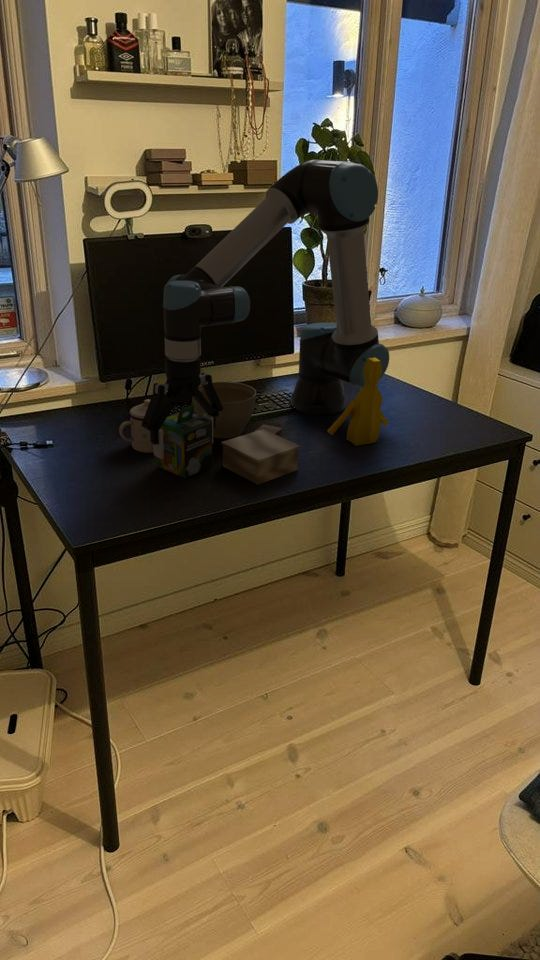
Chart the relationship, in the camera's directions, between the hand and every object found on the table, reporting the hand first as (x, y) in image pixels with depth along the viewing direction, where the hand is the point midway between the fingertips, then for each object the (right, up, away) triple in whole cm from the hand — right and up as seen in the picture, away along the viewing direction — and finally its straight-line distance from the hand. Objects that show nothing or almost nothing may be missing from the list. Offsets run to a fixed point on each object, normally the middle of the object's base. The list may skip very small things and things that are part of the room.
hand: (184, 449), depth 163 cm
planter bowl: (+7, +5, +22) cm, 23 cm away
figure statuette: (+42, +2, +19) cm, 46 cm away
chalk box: (0, -4, +2) cm, 5 cm away
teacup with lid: (-11, +1, +11) cm, 16 cm away
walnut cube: (+19, +1, +13) cm, 23 cm away
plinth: (+17, -4, +3) cm, 18 cm away
